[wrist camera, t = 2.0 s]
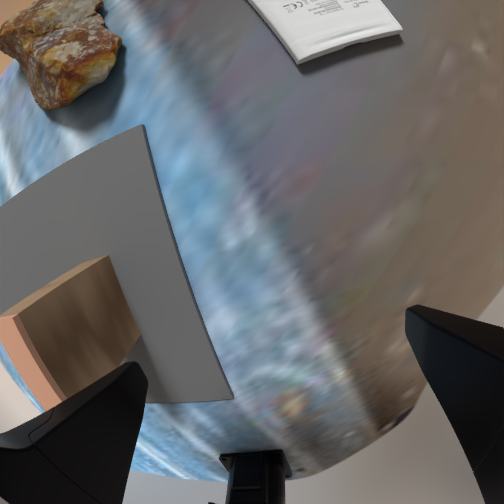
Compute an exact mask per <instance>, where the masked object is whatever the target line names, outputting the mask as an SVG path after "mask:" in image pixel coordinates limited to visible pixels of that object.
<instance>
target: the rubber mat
mask: <svg viewBox="0 0 504 504" xmlns="http://www.w3.org/2000/svg"><path fill="white" fill-rule="evenodd" d="M106 255H109V257H110V260H111V263H112V265H113V268H114V271H115V274H116V276H117V279H118V281H119V284H120V286H121V289H122V291H123V294H124V296H125V299H126V301H127V304H128V306H129V308H130V311H131V313H132V315H133V317H134V320H135V322H136V324H137V326H138V328H139V331H140V333H141V335H140V337H139V338H138V339H137V341H136V342H135V344H134V345H133V346H132V348H131V349H130V351H129V352H128V354H127V355H126V357H125V358H124V359H123V361H122V362H121V364H120V365H119V366H121V365H122V364H124V363H125V362H130V361H136V362H138V363H139V365H140V366H141V368H142V370H143V372H144V373H145V375H146V377H147V379H148V391H147V396H146V402H145V403H182V402H201V401H214V400H225V399H233V393H232V391H231V389H230V386H229V384H228V382H227V379H226V377H225V375H224V372H223V370H222V368H221V365H220V363H219V360H218V358H217V355H216V353H215V351H214V348H213V346H212V343H211V340H210V338H209V335H208V333H207V330H206V328H205V325H204V322H203V320H202V317H201V314H200V312H199V309H198V306H197V303H196V301H195V298H194V295H193V292H192V289H191V287H190V284H189V281H188V278H187V275H186V272H185V269H184V266H183V263H182V260H181V257H180V254H179V251H178V248H177V245H176V241H175V238H174V235H173V232H172V228H171V225H170V222H169V218H168V215H167V212H166V208H165V205H164V201H163V198H162V194H161V191H160V187H159V183H158V179H157V176H156V172H155V168H154V164H153V160H152V156H151V152H150V148H149V144H148V139H147V135H146V131H145V126H144V125H142V124H141V125H139V126H136V127H134V128H132V129H129V130H127V131H125V132H123V133H121V134H119V135H116V136H114V137H112V138H110V139H108V140H106V141H104V142H102V143H100V144H98V145H96V146H94V147H92V148H90V149H89V150H87V151H85V152H83V153H81V154H79V155H78V156H76V157H74V158H72V159H71V160H69V161H67V162H65V163H64V164H62V165H60V166H59V167H57V168H55V169H54V170H52V171H51V172H49V173H47V174H46V175H44V176H43V177H41V178H40V179H38V180H37V181H35V182H34V183H32V184H31V185H29V186H28V187H27V188H25V189H24V190H22V191H21V192H19V193H18V194H17V195H15V196H14V197H13V198H11V199H10V200H9V201H7V202H6V203H5V204H4V205H2V206H1V207H0V315H1V314H3V313H4V312H6V311H7V310H8V309H10V308H11V307H13V306H14V305H16V304H17V303H19V302H20V301H22V300H23V299H25V298H26V297H28V296H29V295H31V294H32V293H34V292H36V291H37V290H39V289H40V288H42V287H43V286H45V285H47V284H48V283H50V282H51V281H53V280H55V279H56V278H58V277H60V276H61V275H63V274H65V273H66V272H68V271H70V270H71V269H73V268H75V267H76V266H78V265H80V264H82V263H84V262H87V261H90V260H93V259H96V258H100V257H103V256H106Z"/></svg>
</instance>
